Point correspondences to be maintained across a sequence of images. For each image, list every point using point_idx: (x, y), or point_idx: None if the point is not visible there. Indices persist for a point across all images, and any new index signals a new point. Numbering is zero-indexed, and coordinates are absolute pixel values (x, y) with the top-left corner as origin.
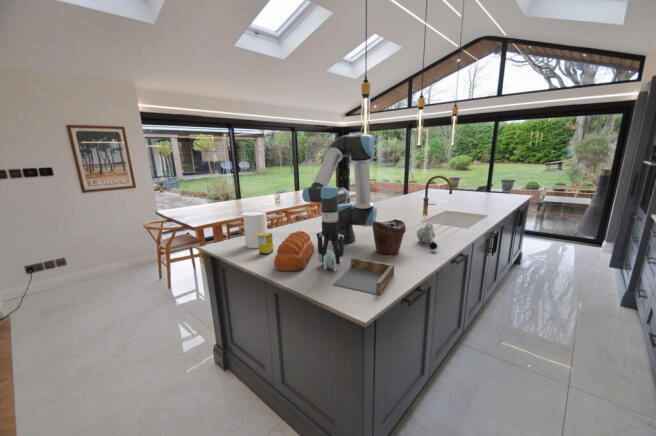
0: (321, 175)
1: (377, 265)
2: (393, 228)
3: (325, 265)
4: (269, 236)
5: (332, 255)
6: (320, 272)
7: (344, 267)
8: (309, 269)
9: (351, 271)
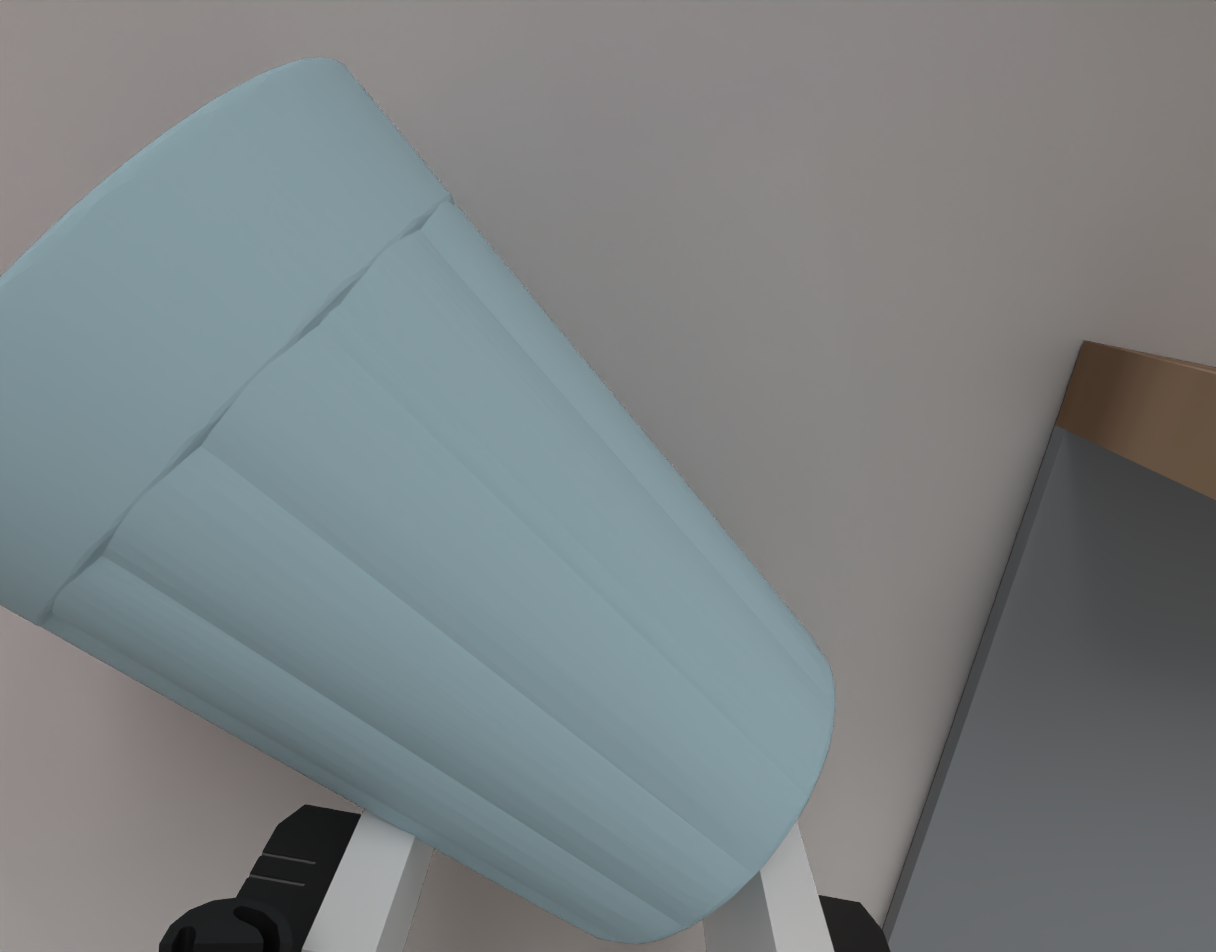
0: None
1: None
2: None
3: (428, 855)
4: None
5: (544, 743)
6: None
7: (871, 395)
8: (34, 714)
9: (1102, 658)
